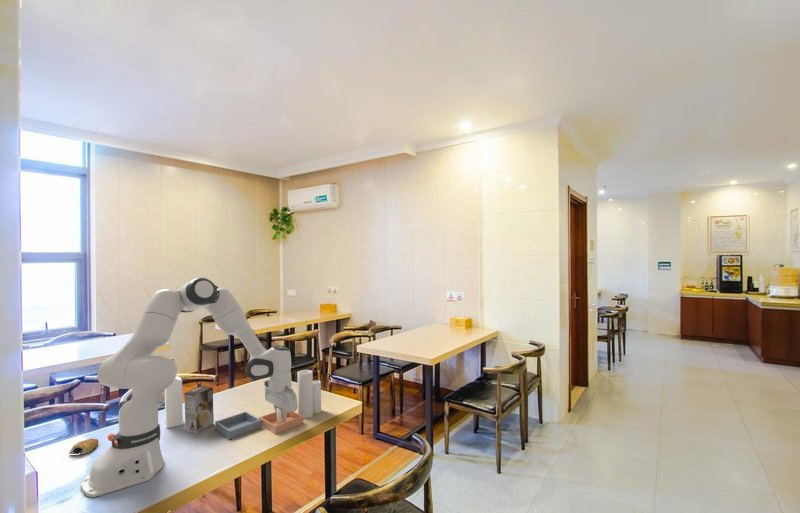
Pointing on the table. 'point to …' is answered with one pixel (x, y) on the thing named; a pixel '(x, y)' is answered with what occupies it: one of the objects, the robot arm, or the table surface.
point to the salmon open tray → (291, 421)
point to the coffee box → (198, 409)
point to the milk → (174, 404)
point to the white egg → (279, 417)
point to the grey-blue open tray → (237, 425)
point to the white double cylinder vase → (308, 394)
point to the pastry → (84, 446)
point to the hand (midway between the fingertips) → (281, 416)
